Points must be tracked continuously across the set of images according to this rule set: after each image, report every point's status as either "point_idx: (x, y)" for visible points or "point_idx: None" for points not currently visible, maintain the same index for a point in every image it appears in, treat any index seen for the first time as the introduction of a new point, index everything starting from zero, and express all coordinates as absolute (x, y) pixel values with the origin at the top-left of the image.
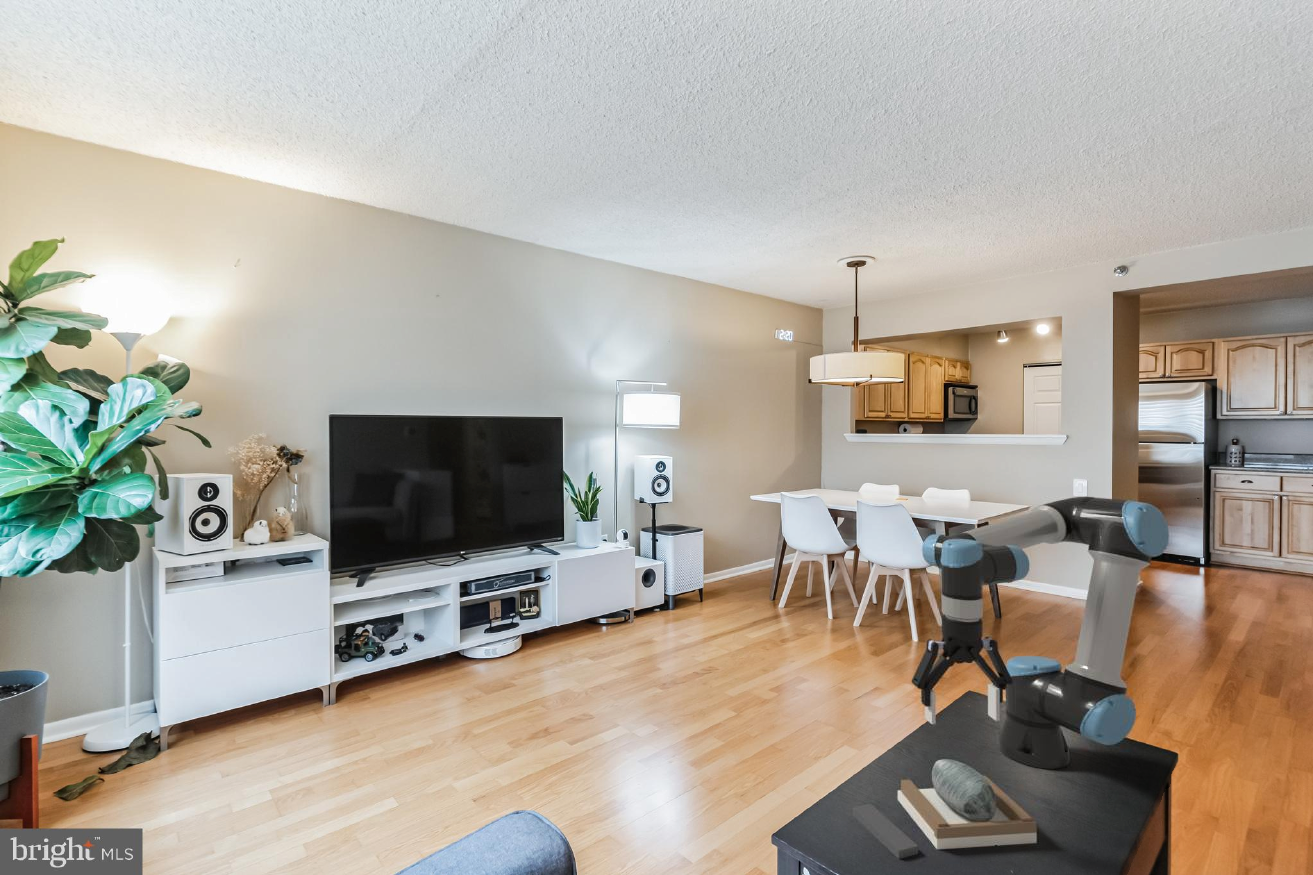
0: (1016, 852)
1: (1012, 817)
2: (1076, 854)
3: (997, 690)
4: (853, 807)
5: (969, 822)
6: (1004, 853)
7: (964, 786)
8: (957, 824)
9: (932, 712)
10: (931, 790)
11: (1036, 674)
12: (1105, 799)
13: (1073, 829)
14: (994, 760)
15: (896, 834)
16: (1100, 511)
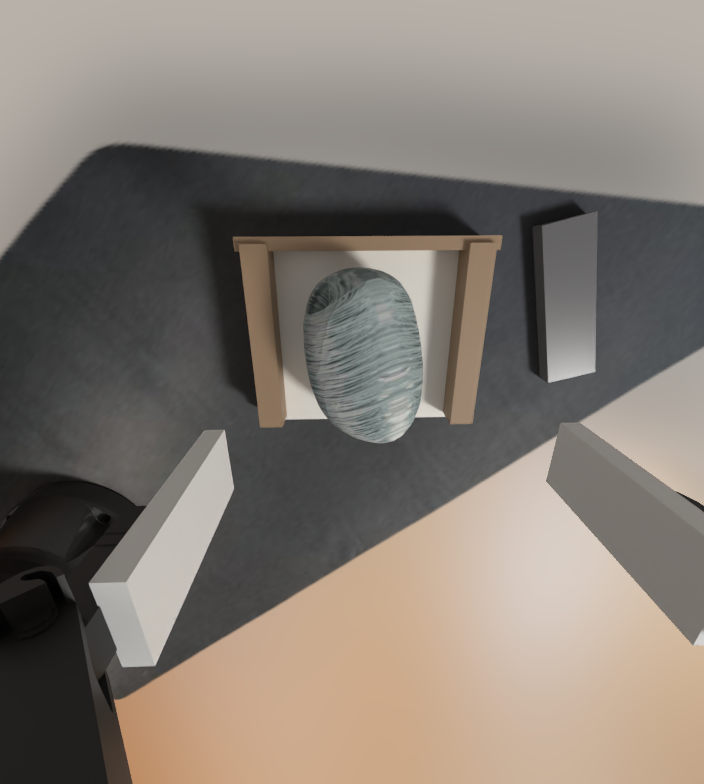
0: (311, 209)
1: (274, 284)
2: (175, 187)
3: (119, 570)
4: (592, 371)
5: None
6: (341, 208)
7: (398, 312)
8: (440, 247)
9: (624, 456)
10: None
11: None
12: (4, 376)
13: (134, 278)
14: None
15: (562, 271)
16: None
